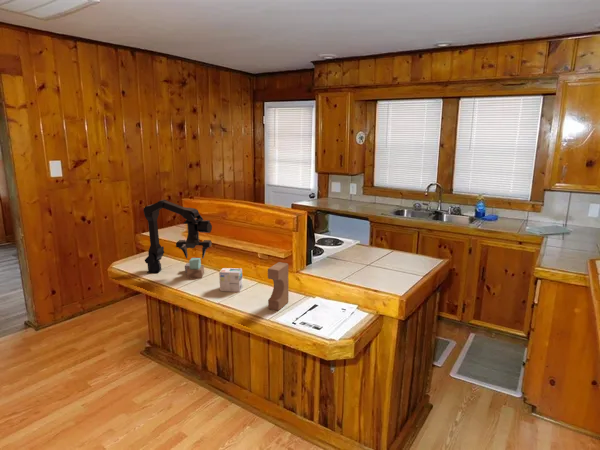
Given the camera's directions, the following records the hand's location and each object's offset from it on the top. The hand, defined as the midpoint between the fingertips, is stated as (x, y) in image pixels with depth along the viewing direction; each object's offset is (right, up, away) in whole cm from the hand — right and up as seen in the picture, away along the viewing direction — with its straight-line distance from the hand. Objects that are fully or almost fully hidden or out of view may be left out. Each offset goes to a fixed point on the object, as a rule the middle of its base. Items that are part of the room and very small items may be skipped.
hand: (194, 258), depth 227 cm
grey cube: (-5, -9, +9) cm, 13 cm away
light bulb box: (+24, -15, -16) cm, 32 cm away
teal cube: (0, -5, +1) cm, 6 cm away
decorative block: (+49, -20, -35) cm, 64 cm away
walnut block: (0, -10, +3) cm, 11 cm away
